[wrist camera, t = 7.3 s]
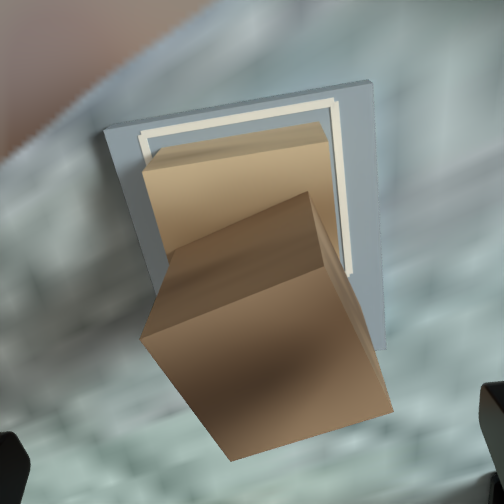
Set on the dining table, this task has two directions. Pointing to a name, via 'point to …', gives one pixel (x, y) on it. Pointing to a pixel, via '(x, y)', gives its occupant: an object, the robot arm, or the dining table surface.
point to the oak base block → (238, 181)
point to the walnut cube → (266, 333)
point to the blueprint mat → (265, 118)
